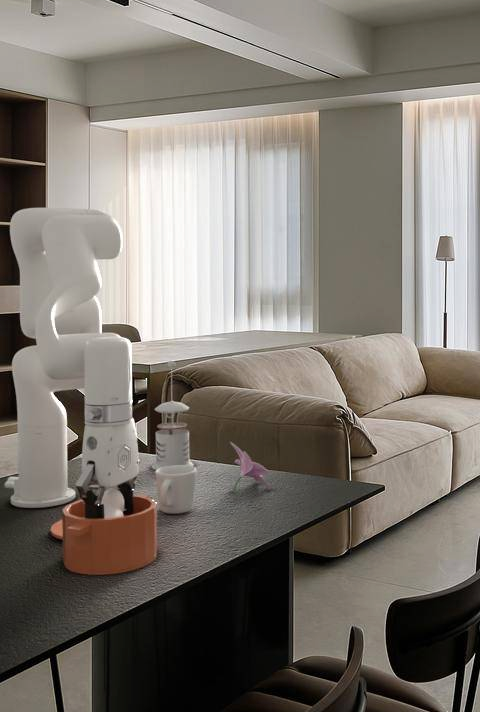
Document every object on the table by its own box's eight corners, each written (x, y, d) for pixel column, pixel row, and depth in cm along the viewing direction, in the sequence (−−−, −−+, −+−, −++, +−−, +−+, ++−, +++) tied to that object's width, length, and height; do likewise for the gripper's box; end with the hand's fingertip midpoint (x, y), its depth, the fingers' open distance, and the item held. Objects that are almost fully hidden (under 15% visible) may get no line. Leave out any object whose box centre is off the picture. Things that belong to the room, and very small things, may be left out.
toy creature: (129, 522, 143) (129, 484, 143) (118, 537, 135) (117, 497, 135) (102, 522, 143) (101, 485, 143) (89, 537, 135) (88, 498, 135)
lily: (268, 503, 174) (284, 458, 177) (214, 482, 173) (232, 437, 177) (261, 506, 185) (276, 464, 189) (210, 486, 184) (227, 444, 188)
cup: (183, 522, 159) (182, 479, 159) (142, 520, 160) (142, 477, 160) (203, 506, 169) (202, 465, 169) (165, 504, 171) (164, 464, 171)
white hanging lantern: (153, 472, 197) (152, 364, 197) (149, 461, 209) (148, 358, 208) (196, 469, 200) (194, 362, 200) (189, 458, 211) (188, 357, 211)
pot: (33, 575, 132) (32, 520, 132) (107, 535, 151) (106, 487, 151) (114, 585, 127) (114, 528, 127) (180, 543, 146) (180, 494, 146)
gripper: (97, 424, 130) (98, 540, 130) (156, 405, 146) (157, 508, 146) (55, 421, 132) (57, 535, 132) (118, 404, 148) (119, 505, 149)
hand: (110, 520), depth 139 cm, fingers closed on toy creature, 7 cm apart
